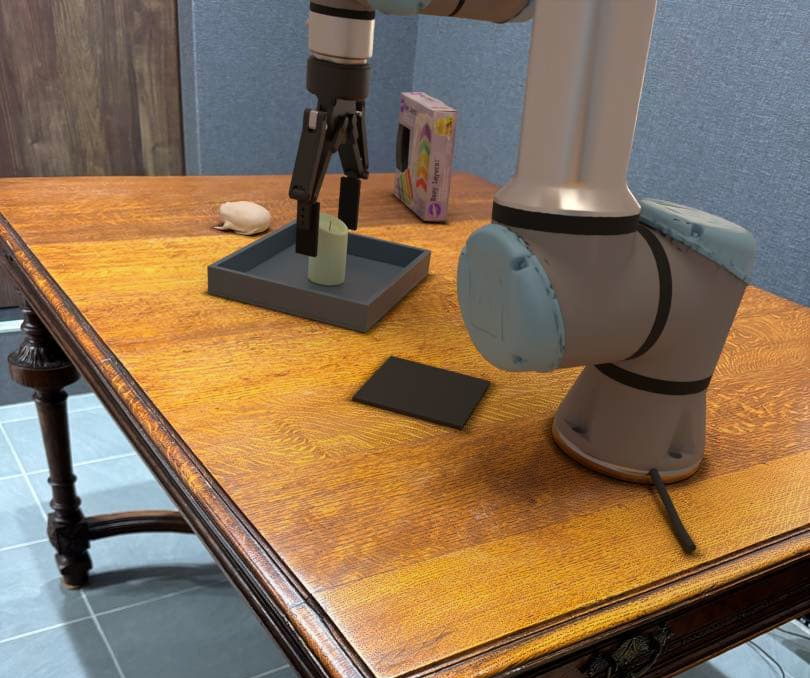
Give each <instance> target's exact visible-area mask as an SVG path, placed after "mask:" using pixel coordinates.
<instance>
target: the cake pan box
mask: <svg viewBox="0 0 810 678" xmlns="http://www.w3.org/2000/svg"><path fill="white" fill-rule="evenodd" d="M398 109H399V112H398V128H397V132H396V142H395V143H396V144H395V166H396V167H395V171H394V172H395V174H394V185H393V195H394V196H395V197H396V198H397V199H398V200H399V201H401V202H402V203H403V204H404V205H405V206H406V207H407V208H408V209H410V211H412V212H413V213H414V214H415V215H416V216H418V217H419V219H420V220H422V221H424V222H434V223H435V222H436V223H447V220H448V211H449V203H450V194H451V183H452V176H453V175H452V173H453V165H454V156H455V146H456V145H455V144H456V135H457V126H458V116H459V112H458V110H457V109H454V108H453V107H451V106H448V105H446V104H445V103H444V102H443V101H442V100H440V99H438V98H435V97H432V96H430V95H429V94H427V93H425V92H423V91H408V92H400V98H399V108H398Z"/></svg>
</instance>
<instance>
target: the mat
mask: <svg viewBox="0 0 810 678" xmlns="http://www.w3.org/2000/svg"><path fill="white" fill-rule="evenodd" d="M490 385H491V381H490V380H487V379H483V378H480V377H476V376H472V375H468V374H465V373H461V372H457V371H452V370H449V369H444V368H440V367H437V366H433V365H430V364H425V363H422V362H418V361H414V360H409V359H405V358H401V357H397V356H394V355H390V356H389V358H387V359H386V360H385V361H384V362H383V364H381V366H380V367H379V368H378V369H377V370H376V371H375V372H374V373H373V374H372V375H371V376H370V377H369V379H368V380H367V381H366V382H365V383H364V384H362V386H361V387H360V388H359V389H358V390H357V391H356V393H354V395H352V397H351V401H353V402H357V403H362V404H365V405H367V406H368V405H369V406H372V407H376V408H380V409H383V410H387V411H390V412H394V413H398V414H401V415H406V416H409V417H413V418H416V419H421V420H423V421H424V420H425V421H427V422H431V423H434V424H437V425H442V426H446V427H450V428H454V429H458V430H462V429H463V428H464V426H465V425H466V423H467V422H468V420H469V419H470V417H471V415H472V414H473V412H474V411H475V409H476V407H477V406H478V404H479V403H480V402H481V399H482V398H483V396H484V394H485V393H486V391H487V390H488V388H489V386H490Z"/></svg>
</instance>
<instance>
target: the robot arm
mask: <svg viewBox="0 0 810 678" xmlns="http://www.w3.org/2000/svg"><path fill="white" fill-rule="evenodd" d="M657 4H658V0H309V14H308V15H309V17H308V18H307V19H306V20H305V25H306V27H307V28H308V41H307V48H308V50H309V51H310V52H311V53H312V54H311V55H309V56H308V57H307V59H306V77H305V89H306V90H307V92H309V93H310V94H312V95H315V96H316V99H317V102H316V106H315V107H316V108H315V109H313V108H309V107H308V108H307V107H306V108H304V110H303V115H302V116H303V117H302V127H301V128H302V129H301V134H300V138H299V143H298V147H297V152H296V157H295V161H294V167H293V170H292V175H291V180H290V183H289V188H288V197H289V199H291V200H295V201H296V202H297V203H296V220H297V223H296V247H295V253H299V254H303V255H307V256H311V257H316V256H317V251H318V234H319V217H320V213H321V202H319V201H318V198H319V195H320V192H321V189H322V186H323V183H324V180H325V177H326V174H327V171H328V167H329V165H330V161H331V159H332V155H333V154H335V153H338V156H339V161H340V164H341V167H342V171H343V176H341V177H340V180H339V181H340V182H339V196H338V209H337V211H338V212H337V218H338V219H339V220H341V221H342V222H343V223H344V224H345V225H346V226H347V228H348V231H349V230H350V231H352V232H354V231H357V230H358V223H359V213H360V212H359V209H360V201H361V200H360V199H361V188H362V180H365V181H368V179H369V177H370V171H369V168H370V161H369V150H368V149H369V148H368V137H367V135H368V134H367V127H366V126H367V125H366V105H367V102H366V99H367V98H368V97H369V93H370V82H371V79H370V78H371V71H372V69H371V68H372V66H370V64H369V62H367V61H368V60H370V59H371V58H372V57H373V52H374V40H375V39H374V38H375V24H376V13H377V12H376V10H377V11H378V12H379V13H381V14H384V15H387V16H390V15H394V16H398V17H409V16H413V15H423V16H433V17H435V16H436V17H437V16H438V17H447V18H449V17H450V18H456V19H457V18H458V19H466V20H474V21H482V22H491V23H493V24H497V25H503V24H504V25H505V24H509V23H510V24H511V23H513V24H521V23H526V22H529V21H531V20H532V24H531V32H530V40H529V49H528V58H527V67H526V77H525V85H524V93H523V94H524V95H523V104H522V111H521V113H522V114H521V121H520V122H521V123H520V129H519V130H520V131H519V137H518V148H517V156H516V164H515V172H514V174H513V175H512V177H511V179H510V180H508V182H506V183H505V184H504V185H503V186H502V187H501V188H500V189H499V190H498V191H497V192H495V194H494V195H493V199H492V207H491V219H490V223H488V224H483V225H482V226H481V227H480V228H477V229H475V230H474V231H472V232H471V233H470V234H469V235H468V237H467V238H466V240H465V246H463V247H462V248H461V251H460V253H459V256H458V257H459V258H458V261H457V268H456V294H457V301H458V307H459V311H460V312H459V313H460V315H461V319H462V323H463V325H464V327H465V330H466V331H467V333H468V336H469V338H470V341H471V342H472V344H473V346H474V347H475V349H476V350H477V352H478V354H480V355H481V357H482V358H483V359H484V360H485V361H486V362H488V363H489V364H490V365H491V366H493V367H495V368H496V369H497V370H500V371H503V372H508V373H528V372H529V373H530V372H531V373H533V372H535V373H537V374H547V373H552V372H554V371H556V370H564V369H571V368H579V367H583V369H582V370H581V372H580V373H579V375H578V376H577V377H576V379H575V380H574V382H573V384H572V385H571V387H570V388H569V389H568V391H567V393H566V394H565V396H564V397H563V399H562V400H561V402H560V404H559V405H558V407H557V409H556V412H555V415H554V417H553V421H552V426H551V432H552V437H553V440H554V442H555V443H556V445H557V446H558V447H559V448H560V449H561V451H562V452H564V453H565V454H566V456H569V457H570V458H571V459H573V460H574V461H575V462H577V463H579V464H581V465H582V466H584V467H586V468H587V469H590V470H592V471H595V472H597V473H599V474H602V475H604V476H608V477H611V478H613V479H618V480H623V481H627V482H633V483H639V484H652V485H654V488H655V489H656V492H657V494H658V496H659V497H660V500H661V502H662V505H663V507H664V509H665V511H666V514H667V516H668V517H667V518H668V519H669V521H670V523H671V525H672V527H673V529H674V532H675V533H676V535H677V537H678V538H679V540H680V542H681V543H682V545H683V546H684V548H685V550H686V551H687V552H688V553H693V552H695V551H696V549H697V545H696V544H695V542H694V541H693V538H692V537H691V536H690V533H688V531H687V529H686V528H685V525H684V524H683V522H682V520H681V518H680V516H679V514H678V512H677V509H676V507H675V505H674V503H673V500H672V498H671V496H670V494H669V491H668V490H667V487H666V486H665V484H669V483H675V482H681V481H684V480H685V479H687V478H690V477H691V476H693V474H695V473H696V472H697V471H698V469H699V467H700V464H701V462H702V459H703V457H704V454H705V447H706V439H707V438H706V433H707V432H706V431H707V392H708V389H709V386H710V384H711V381H712V378H713V376H714V373H715V370H716V367H717V365H718V362H719V360H720V357H721V355H722V352H723V349H724V347H725V345H726V342H727V340H728V336H729V334H730V332H731V329H732V326H733V323H734V321H735V319H736V317H737V313H738V310H739V308H740V305H741V303H742V301H743V298H744V295H745V292H746V290H747V287H749V286H750V285H751V275H752V271H753V268H754V265H755V261H756V258H757V256H758V250H759V246H758V242H757V240H756V238H755V237H754V235H753V233H752V232H751V231H749V230H748V229H746V228H745V227H743V226H742V225H739V224H737V223H735V222H733V221H730V220H728V219H726V218H722V217H720V216H718V215H715V214H712V213H709V212H706V211H702V210H699V209H697V208H694V207H690V206H687V205H682V204H679V203H675V202H671V201H666V200H662V199H658V198H649V197H640V198H637V199H636V197H635V196H634V194H633V193H632V191H631V190H630V189H629V186H628V183H627V176H628V171H629V164H630V159H631V153H632V147H633V142H634V138H635V137H634V136H635V130H636V123H637V118H638V115H639V114H638V113H639V108H640V101H641V96H642V90H643V85H644V78H645V75H646V74H645V73H646V69H647V62H648V57H649V50H650V45H651V40H652V39H651V38H652V33H653V27H654V21H655V16H656V11H657Z"/></svg>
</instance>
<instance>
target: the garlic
mask: <svg viewBox="0 0 810 678" xmlns="http://www.w3.org/2000/svg"><path fill="white" fill-rule="evenodd" d="M217 213H218V217H219V219H220V220H221V221H222V222H223V226H214V227H213V228H214V229H218V230H223V231H224V230H233V231H235V234H238V235H244V236H245V235H246V236H249V235H254V234H258V233H259V234H260V233H263V232H265V231H266V230H267V229H268V228H269V227H270V225H271V222H272V216H271V212H270V211H269V210H268V209H266V207H264V206H261V205H260V204H257V203H254V202H252V201H247V200H239V201H233V202H232V201H231V202H230V201H226V202H225V203H221V204H220V207H219V210H218V212H217Z"/></svg>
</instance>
